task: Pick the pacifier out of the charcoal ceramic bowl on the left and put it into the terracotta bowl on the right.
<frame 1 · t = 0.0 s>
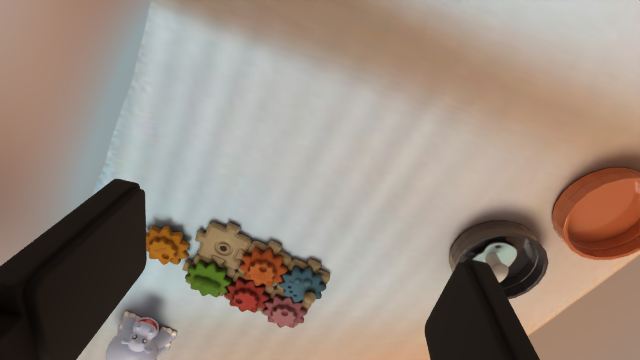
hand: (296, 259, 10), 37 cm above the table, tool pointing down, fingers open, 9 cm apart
charcoal bowl: (491, 253, 54), on the table
terracotta bowl: (600, 207, 49), on the table
gear puzzle: (235, 263, 59), on the table
pacifier: (492, 254, 54), resting on charcoal bowl
hippopotamus toy: (150, 325, 69), on the table
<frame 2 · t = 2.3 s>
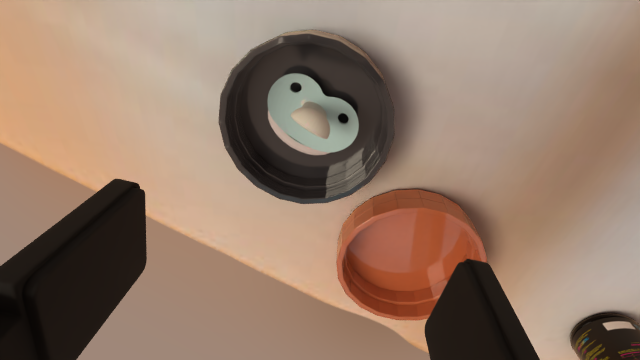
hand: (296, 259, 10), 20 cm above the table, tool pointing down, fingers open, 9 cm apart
supplement container: (600, 330, 37), on the table
charcoal bowl: (310, 114, 29), on the table
terracotta bowl: (404, 245, 34), on the table
pacifier: (310, 115, 29), resting on charcoal bowl
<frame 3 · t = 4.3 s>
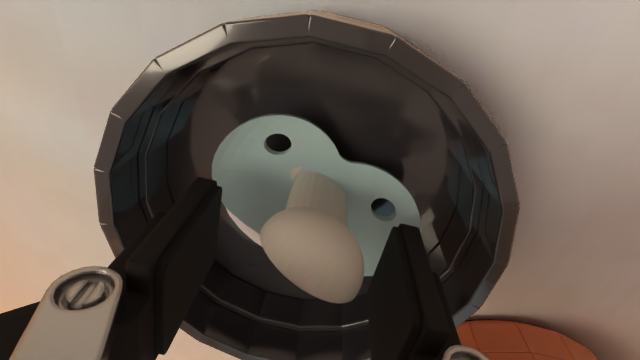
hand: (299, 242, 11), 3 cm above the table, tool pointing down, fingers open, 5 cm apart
charcoal bowl: (310, 189, 14), on the table
pacifier: (309, 191, 14), resting on charcoal bowl, touching gripper
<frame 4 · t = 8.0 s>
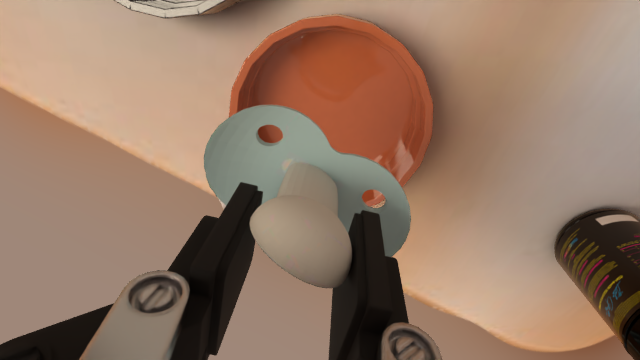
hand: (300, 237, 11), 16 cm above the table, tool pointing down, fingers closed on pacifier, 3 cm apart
supplement container: (592, 237, 29), on the table
terracotta bowl: (331, 112, 25), on the table
pacifier: (302, 184, 14), point 13 cm above the table, touching gripper
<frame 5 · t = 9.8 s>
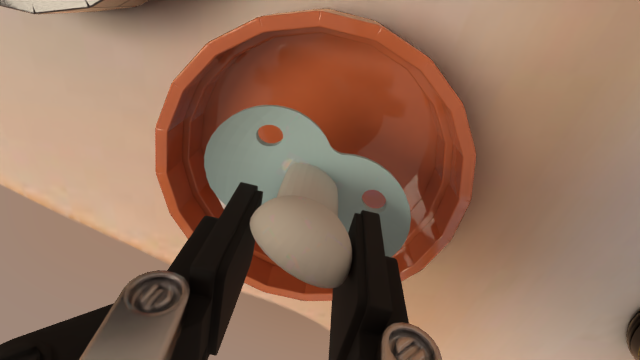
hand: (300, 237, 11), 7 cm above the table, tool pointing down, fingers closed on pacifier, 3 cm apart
terracotta bowl: (317, 153, 17), on the table
pacifier: (302, 184, 14), point 4 cm above the table, touching gripper
when the fingers open (3 cm above the table, at t = 10.9 s): pacifier stays where it is, resting on terracotta bowl.
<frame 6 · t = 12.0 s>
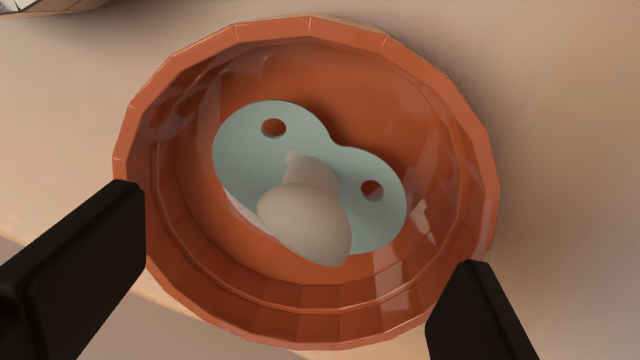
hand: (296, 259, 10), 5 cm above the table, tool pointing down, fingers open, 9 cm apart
terracotta bowl: (310, 179, 15), on the table
pacifier: (304, 176, 15), resting on terracotta bowl
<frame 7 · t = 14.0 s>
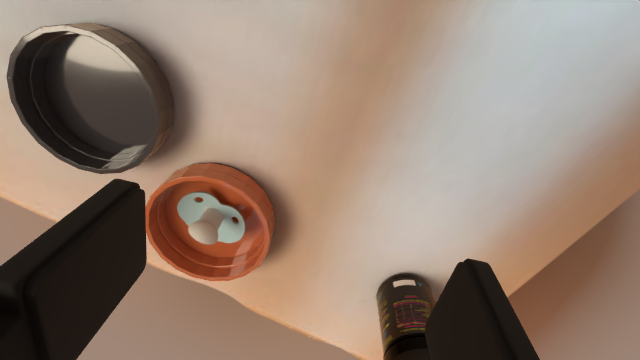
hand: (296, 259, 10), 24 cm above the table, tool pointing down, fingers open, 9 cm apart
supplement container: (402, 291, 43), on the table
charcoal bowl: (108, 97, 33), on the table
terracotta bowl: (217, 214, 39), on the table
pacifier: (214, 213, 39), resting on terracotta bowl
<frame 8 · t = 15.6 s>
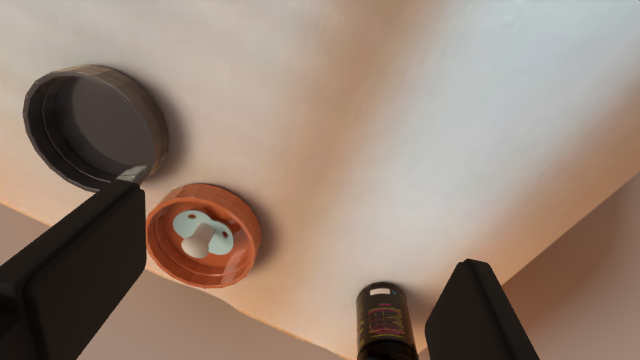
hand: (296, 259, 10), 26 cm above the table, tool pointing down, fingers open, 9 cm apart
supplement container: (380, 297, 47), on the table
charcoal bowl: (110, 126, 38), on the table
terracotta bowl: (210, 228, 43), on the table
pacifier: (207, 227, 43), resting on terracotta bowl
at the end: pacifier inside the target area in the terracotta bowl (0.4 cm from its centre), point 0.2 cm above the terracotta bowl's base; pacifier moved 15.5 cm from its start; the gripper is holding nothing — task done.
